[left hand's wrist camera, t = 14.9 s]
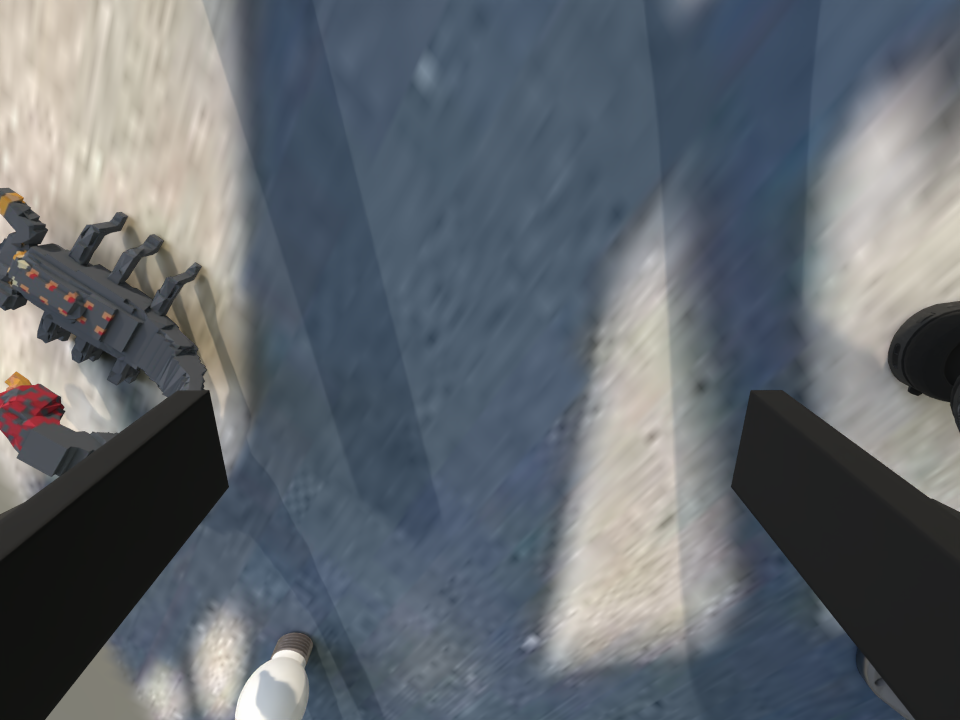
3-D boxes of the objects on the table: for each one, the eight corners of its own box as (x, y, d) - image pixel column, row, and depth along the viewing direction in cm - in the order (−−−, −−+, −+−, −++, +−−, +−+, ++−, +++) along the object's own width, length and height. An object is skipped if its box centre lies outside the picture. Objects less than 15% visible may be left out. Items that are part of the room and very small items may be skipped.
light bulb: (306, 615, 57) (268, 713, 47) (335, 656, 59) (304, 758, 49) (254, 632, 58) (205, 733, 48) (284, 672, 60) (244, 776, 50)
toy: (221, 433, 49) (83, 576, 32) (-61, 262, 43) (-416, 323, 26) (293, 328, 45) (180, 426, 28) (-5, 126, 40) (-375, 93, 22)
